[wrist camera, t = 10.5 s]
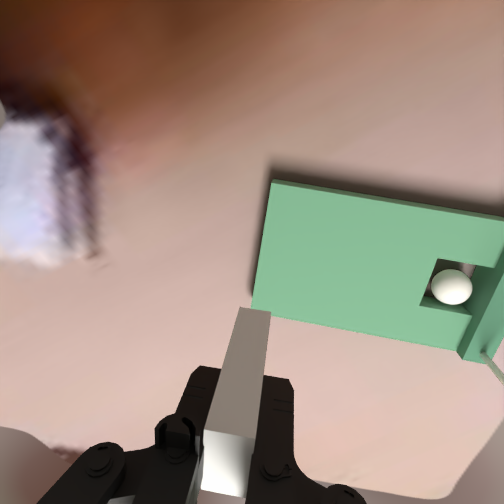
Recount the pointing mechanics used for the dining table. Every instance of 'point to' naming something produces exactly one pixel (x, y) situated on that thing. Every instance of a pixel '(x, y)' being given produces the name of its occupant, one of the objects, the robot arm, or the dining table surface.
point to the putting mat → (380, 268)
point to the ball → (451, 286)
